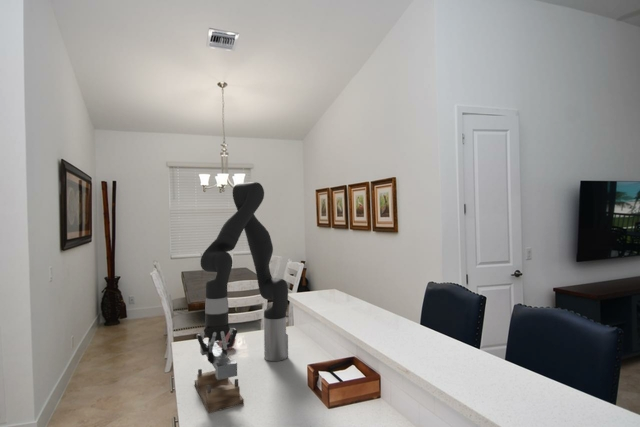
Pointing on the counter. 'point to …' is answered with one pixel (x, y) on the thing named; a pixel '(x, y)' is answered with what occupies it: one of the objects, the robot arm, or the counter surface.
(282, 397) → the counter surface
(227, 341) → the pink teardrop shape
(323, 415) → the counter surface
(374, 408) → the counter surface
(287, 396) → the counter surface
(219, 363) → the grey flared end bar
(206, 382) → the rack
